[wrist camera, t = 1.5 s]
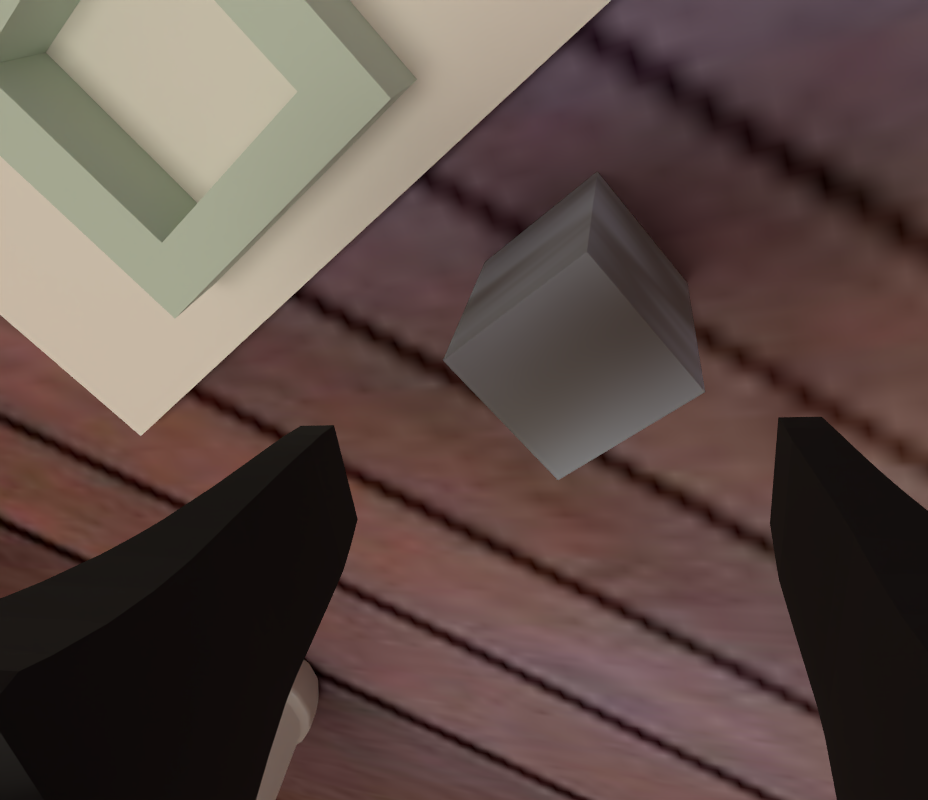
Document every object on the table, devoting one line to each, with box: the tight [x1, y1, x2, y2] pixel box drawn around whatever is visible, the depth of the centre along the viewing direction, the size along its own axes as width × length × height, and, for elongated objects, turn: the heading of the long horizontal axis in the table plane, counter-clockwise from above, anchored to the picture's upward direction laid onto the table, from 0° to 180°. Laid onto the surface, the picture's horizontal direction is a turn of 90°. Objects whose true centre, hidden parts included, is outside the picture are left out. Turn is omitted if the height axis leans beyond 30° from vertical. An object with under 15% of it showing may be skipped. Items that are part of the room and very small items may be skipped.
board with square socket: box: [0, 0, 611, 436], centre depth 19 cm, size 12×22×4 cm, turn 133°
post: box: [443, 172, 705, 480], centre depth 20 cm, size 4×4×6 cm
